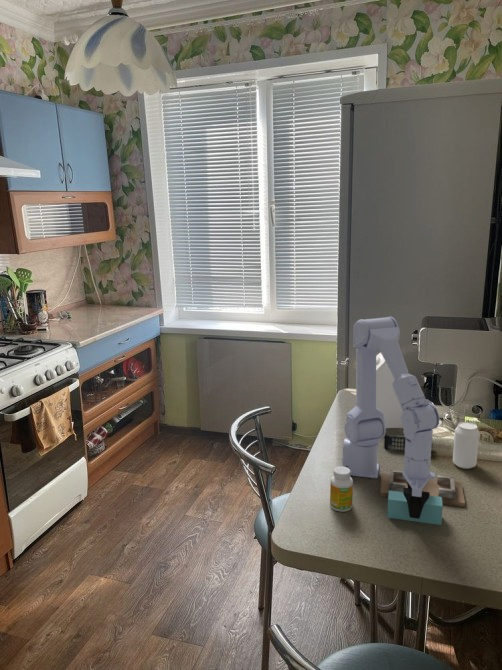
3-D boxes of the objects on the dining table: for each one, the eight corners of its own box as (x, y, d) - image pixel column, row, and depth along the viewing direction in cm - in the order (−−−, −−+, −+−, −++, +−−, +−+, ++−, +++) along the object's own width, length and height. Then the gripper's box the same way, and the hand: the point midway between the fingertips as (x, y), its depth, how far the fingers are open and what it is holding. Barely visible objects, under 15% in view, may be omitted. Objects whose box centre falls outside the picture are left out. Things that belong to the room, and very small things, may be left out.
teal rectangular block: (387, 518, 122) (388, 499, 121) (387, 508, 126) (388, 490, 124) (441, 525, 119) (442, 506, 118) (440, 515, 122) (441, 496, 121)
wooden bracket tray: (380, 495, 131) (380, 485, 130) (381, 476, 140) (382, 466, 139) (464, 506, 125) (465, 495, 125) (460, 485, 135) (461, 475, 134)
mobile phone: (384, 435, 154) (437, 440, 150) (384, 431, 157) (437, 435, 153) (383, 450, 155) (436, 455, 151) (384, 446, 158) (436, 451, 154)
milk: (405, 427, 170) (409, 351, 163) (370, 428, 170) (373, 352, 164) (395, 413, 182) (399, 342, 175) (362, 413, 182) (365, 342, 175)
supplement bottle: (338, 514, 123) (339, 477, 121) (325, 503, 128) (326, 468, 126) (356, 508, 126) (358, 472, 123) (343, 497, 130) (344, 462, 128)
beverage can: (478, 471, 142) (482, 430, 139) (454, 469, 143) (457, 429, 140) (473, 460, 148) (477, 421, 145) (450, 458, 149) (453, 420, 146)
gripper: (438, 472, 110) (433, 528, 114) (434, 443, 124) (430, 494, 127) (403, 468, 112) (400, 523, 116) (403, 440, 126) (400, 490, 129)
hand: (414, 508), depth 122 cm, fingers open, 7 cm apart
